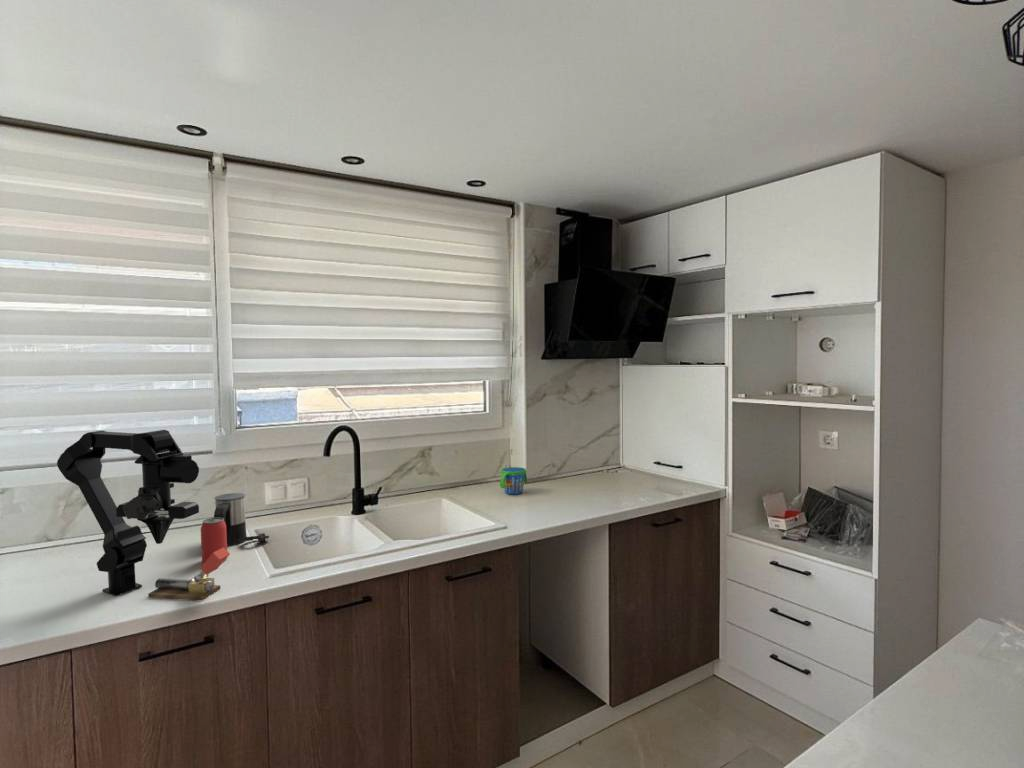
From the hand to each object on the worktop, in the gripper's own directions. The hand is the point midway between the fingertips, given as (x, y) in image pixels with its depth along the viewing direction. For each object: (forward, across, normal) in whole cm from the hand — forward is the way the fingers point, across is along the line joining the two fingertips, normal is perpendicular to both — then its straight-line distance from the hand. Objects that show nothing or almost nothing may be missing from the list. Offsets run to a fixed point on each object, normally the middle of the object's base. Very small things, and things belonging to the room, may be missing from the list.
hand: (159, 543), depth 143 cm
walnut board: (+13, +5, +1) cm, 14 cm away
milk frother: (+13, -4, +39) cm, 42 cm away
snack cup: (+13, +73, +112) cm, 134 cm away
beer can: (+13, -2, +23) cm, 27 cm away
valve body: (+12, +5, +1) cm, 14 cm away
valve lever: (+8, +10, +1) cm, 13 cm away
